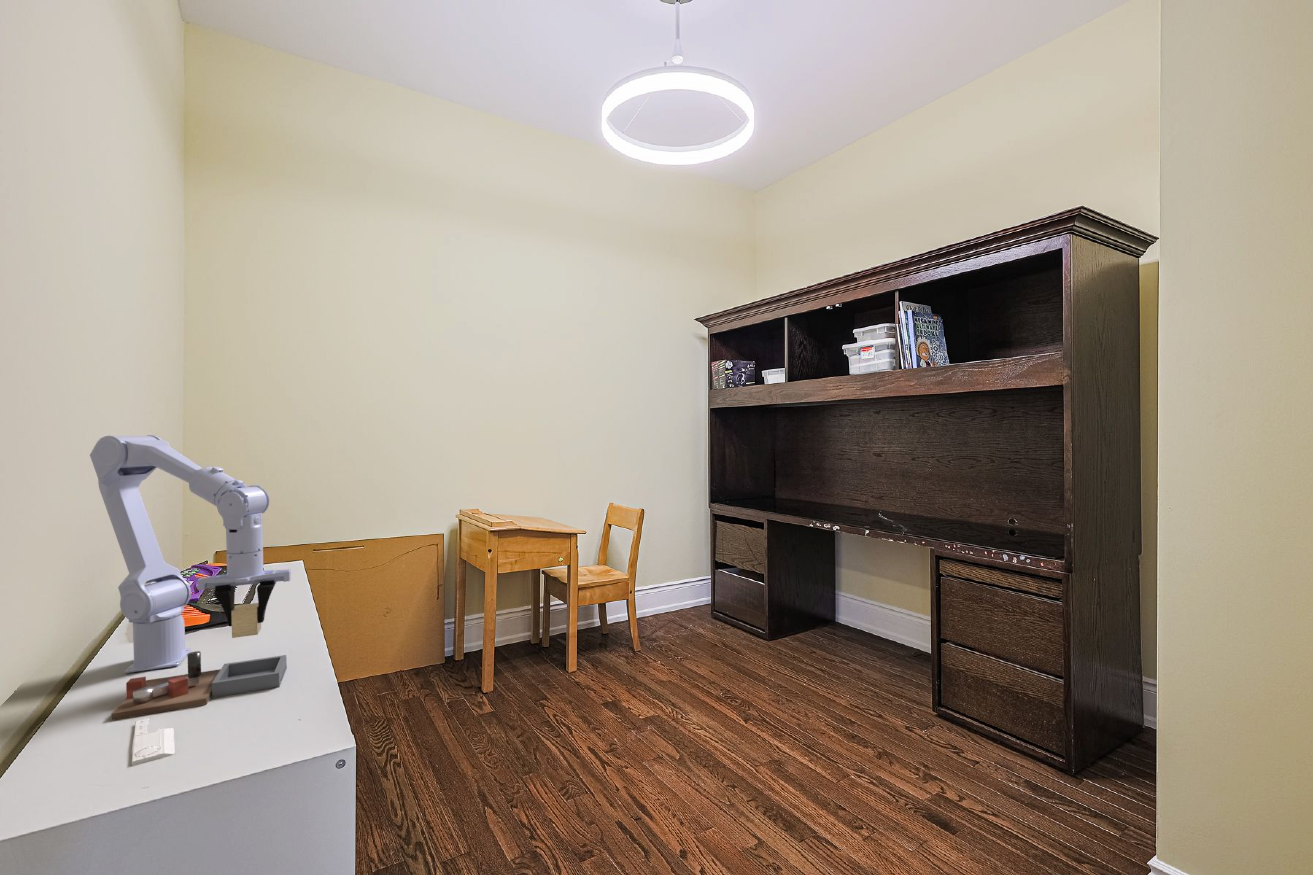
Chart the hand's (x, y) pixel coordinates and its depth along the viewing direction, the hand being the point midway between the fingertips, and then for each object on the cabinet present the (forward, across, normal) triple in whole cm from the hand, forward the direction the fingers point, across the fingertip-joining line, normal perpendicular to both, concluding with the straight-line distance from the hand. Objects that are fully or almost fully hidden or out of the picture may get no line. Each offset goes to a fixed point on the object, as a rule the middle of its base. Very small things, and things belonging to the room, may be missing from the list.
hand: (246, 623), depth 116 cm
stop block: (+2, 0, 0) cm, 2 cm away
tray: (+8, +2, -10) cm, 13 cm away
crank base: (+8, -9, -10) cm, 16 cm away
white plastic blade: (+9, -7, -27) cm, 29 cm away
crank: (+7, -9, -12) cm, 16 cm away
